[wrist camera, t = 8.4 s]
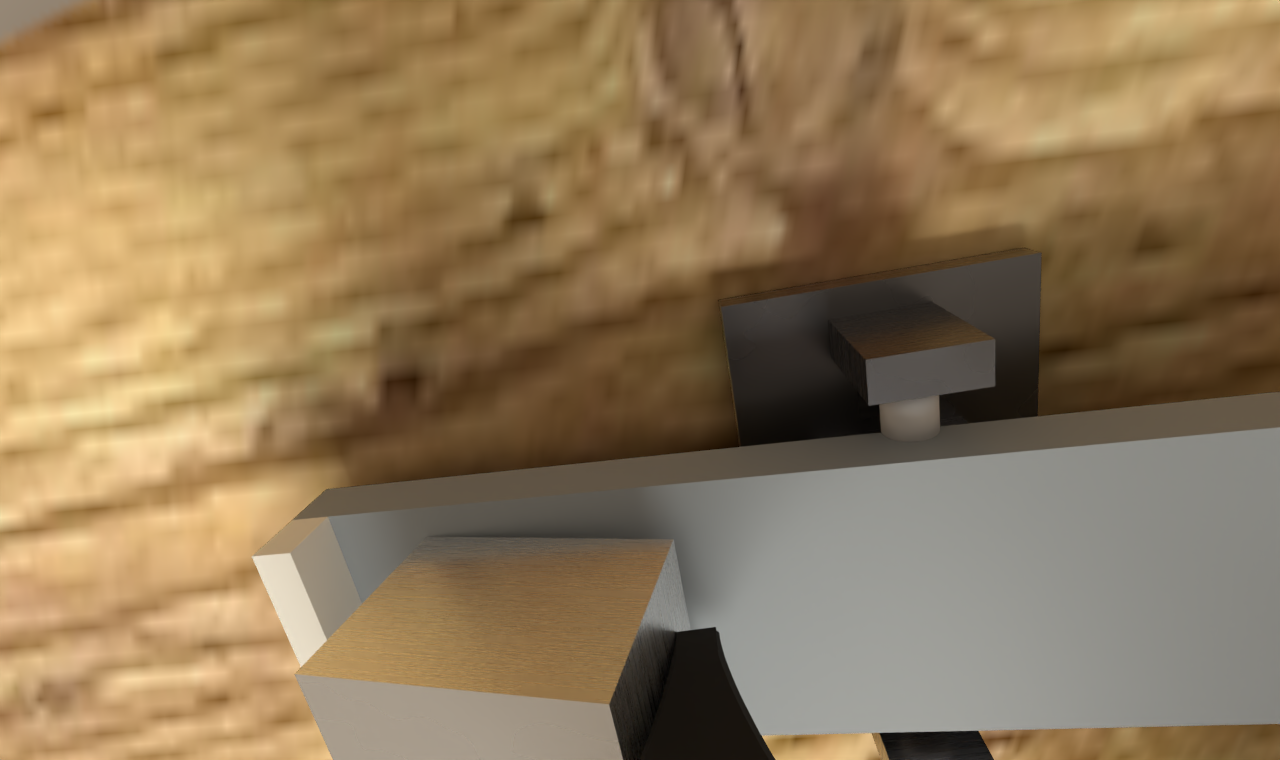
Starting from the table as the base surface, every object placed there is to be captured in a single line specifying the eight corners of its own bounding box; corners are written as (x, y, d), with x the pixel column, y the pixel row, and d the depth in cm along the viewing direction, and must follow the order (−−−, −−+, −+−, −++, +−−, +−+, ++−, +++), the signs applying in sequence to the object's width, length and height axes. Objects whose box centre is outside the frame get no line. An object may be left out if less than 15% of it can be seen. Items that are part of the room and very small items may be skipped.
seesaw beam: (1727, 283, 10) (2089, 341, 7) (1581, 672, 13) (1809, 820, 10) (327, 445, 14) (235, 518, 12) (426, 709, 17) (369, 818, 14)
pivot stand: (1024, 247, 13) (1131, 279, 10) (1018, 684, 17) (1095, 801, 14) (718, 299, 13) (734, 344, 10) (777, 712, 17) (802, 830, 14)
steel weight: (673, 539, 11) (609, 704, 8) (714, 754, 13) (673, 960, 10) (426, 536, 13) (294, 674, 10) (491, 729, 15) (395, 899, 11)
